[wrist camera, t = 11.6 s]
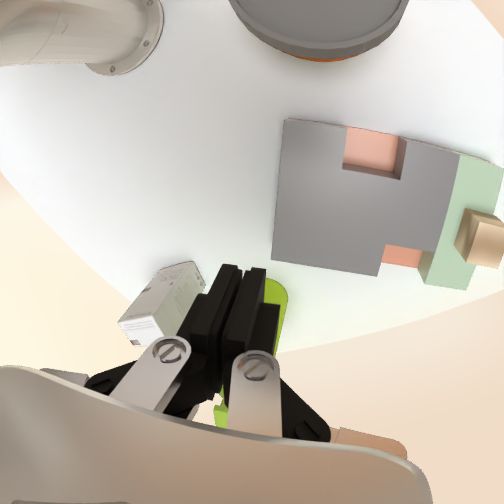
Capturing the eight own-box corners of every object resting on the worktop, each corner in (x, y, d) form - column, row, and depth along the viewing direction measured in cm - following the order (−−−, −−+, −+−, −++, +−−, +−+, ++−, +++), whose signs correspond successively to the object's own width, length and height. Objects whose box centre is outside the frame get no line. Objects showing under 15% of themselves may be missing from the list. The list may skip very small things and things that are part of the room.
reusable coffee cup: (293, -42, 23) (270, -113, 10) (397, 9, 23) (441, -42, 10) (240, 43, 29) (184, 9, 16) (345, 96, 29) (361, 91, 16)
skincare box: (193, 259, 42) (152, 313, 32) (207, 286, 44) (172, 345, 33) (158, 269, 45) (114, 320, 34) (172, 295, 46) (133, 349, 36)
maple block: (464, 207, 28) (479, 221, 24) (495, 215, 27) (511, 230, 23) (453, 245, 30) (466, 262, 26) (483, 251, 29) (497, 268, 25)
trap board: (288, 118, 32) (284, 120, 28) (488, 161, 28) (504, 169, 24) (276, 244, 39) (270, 259, 35) (456, 273, 35) (465, 290, 31)
